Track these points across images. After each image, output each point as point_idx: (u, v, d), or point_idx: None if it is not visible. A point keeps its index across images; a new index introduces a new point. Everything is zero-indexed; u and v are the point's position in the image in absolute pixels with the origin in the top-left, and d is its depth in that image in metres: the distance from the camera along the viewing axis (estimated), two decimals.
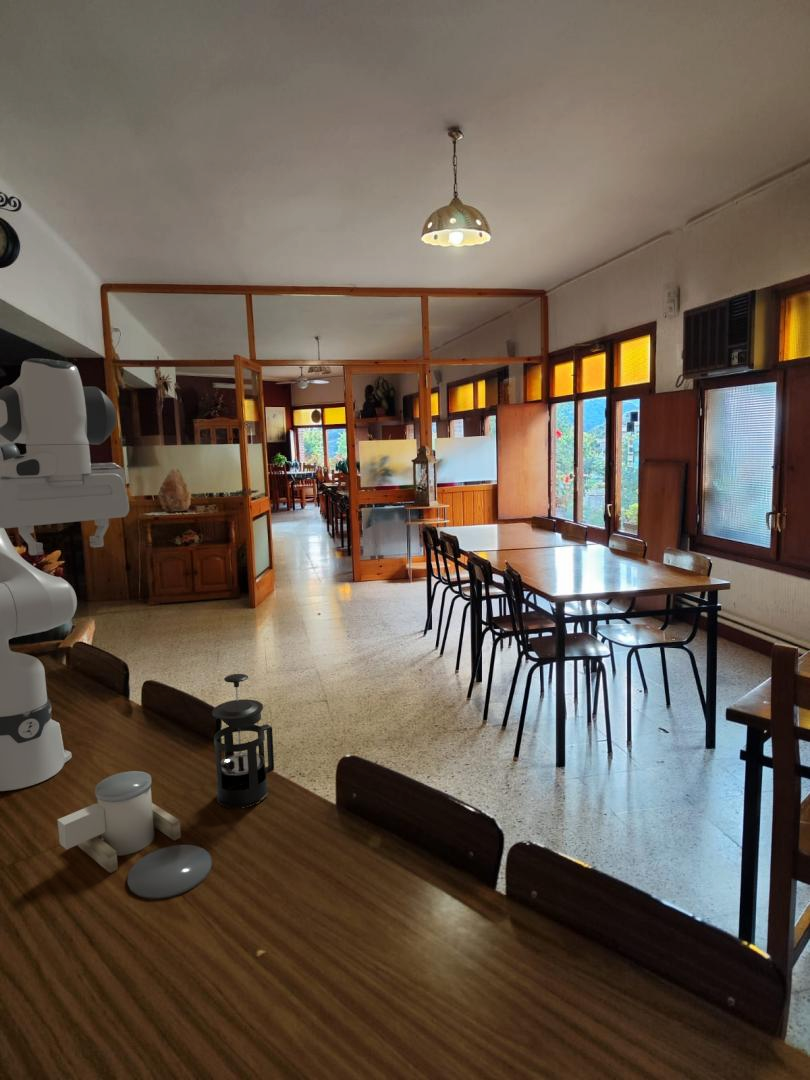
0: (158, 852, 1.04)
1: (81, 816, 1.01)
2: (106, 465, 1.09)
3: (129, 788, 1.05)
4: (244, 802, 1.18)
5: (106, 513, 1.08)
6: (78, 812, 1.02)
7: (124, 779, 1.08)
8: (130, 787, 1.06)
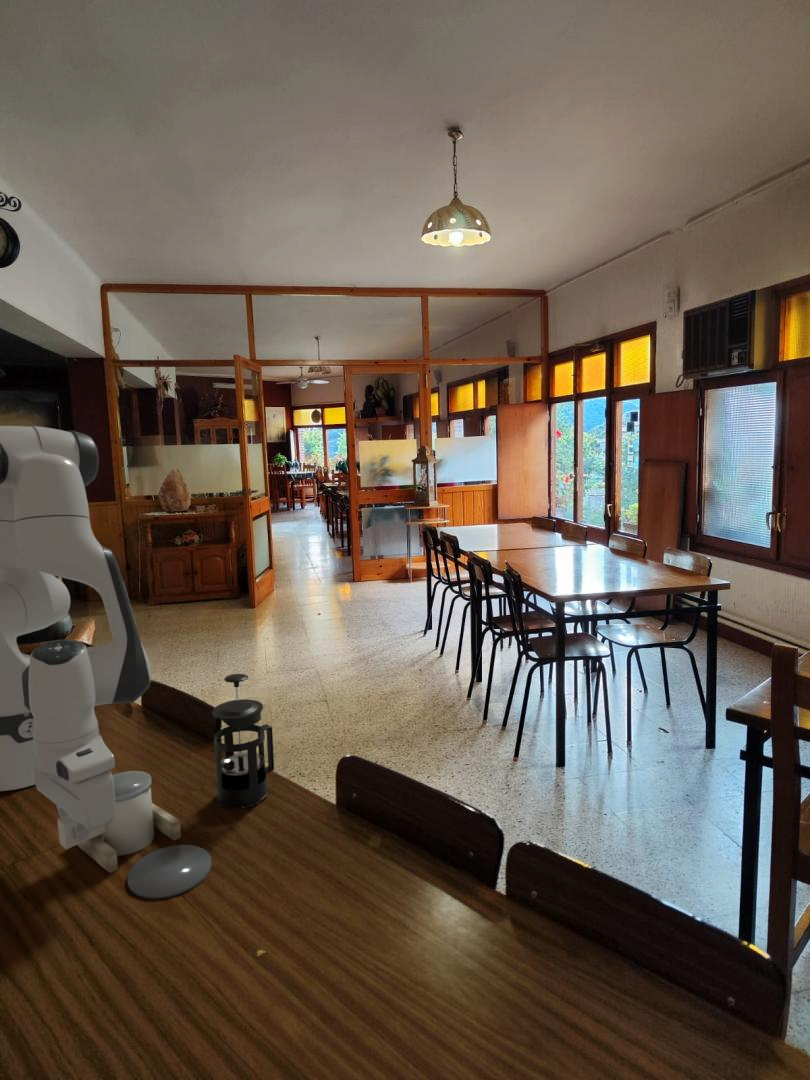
0: (158, 852, 1.04)
1: None
2: None
3: (129, 788, 1.05)
4: (244, 802, 1.18)
5: None
6: None
7: (124, 779, 1.08)
8: (130, 786, 1.06)
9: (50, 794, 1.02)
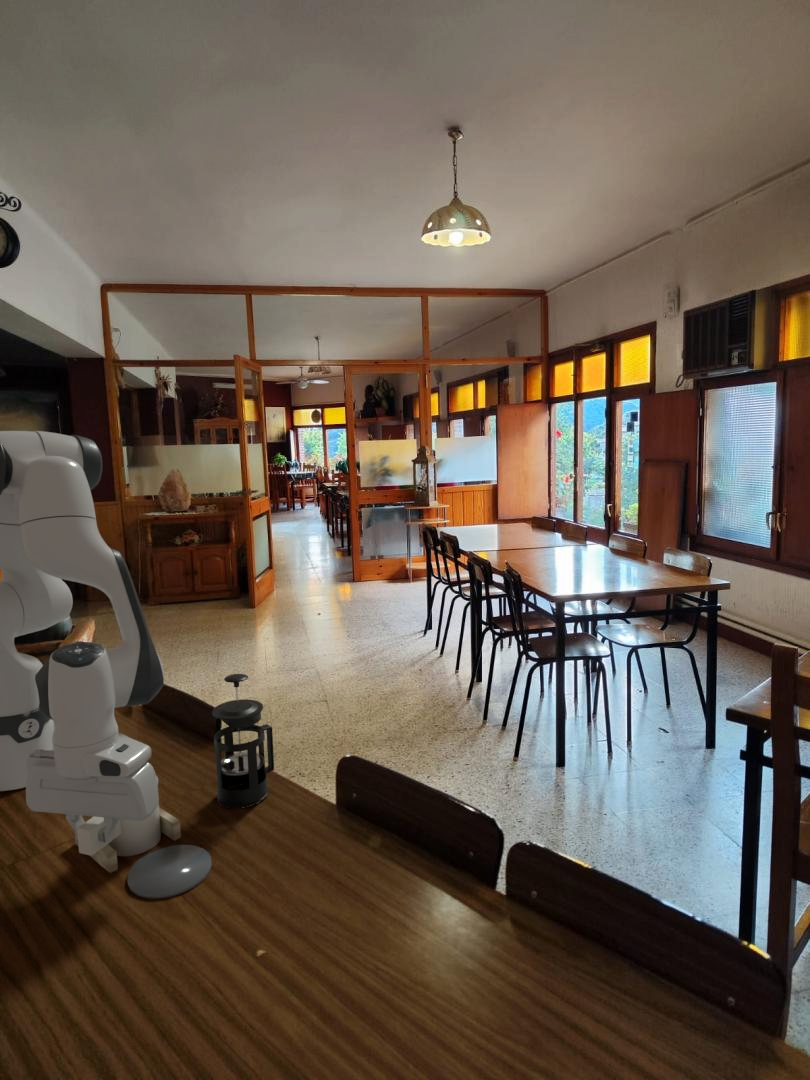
0: (158, 852, 1.04)
1: (101, 820, 1.00)
2: None
3: None
4: (244, 802, 1.18)
5: None
6: (95, 817, 1.01)
7: None
8: None
9: (63, 806, 0.98)
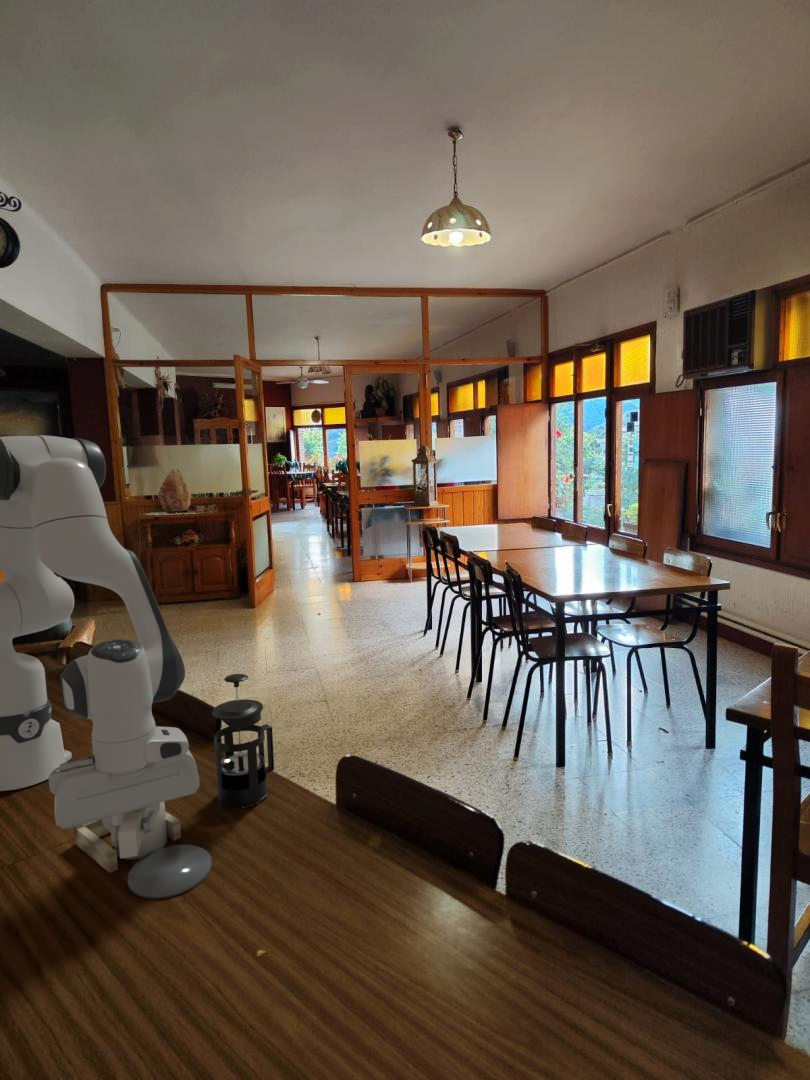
0: (158, 852, 1.04)
1: (136, 821, 0.99)
2: None
3: None
4: (244, 802, 1.18)
5: None
6: (125, 821, 0.99)
7: None
8: None
9: (106, 809, 0.97)
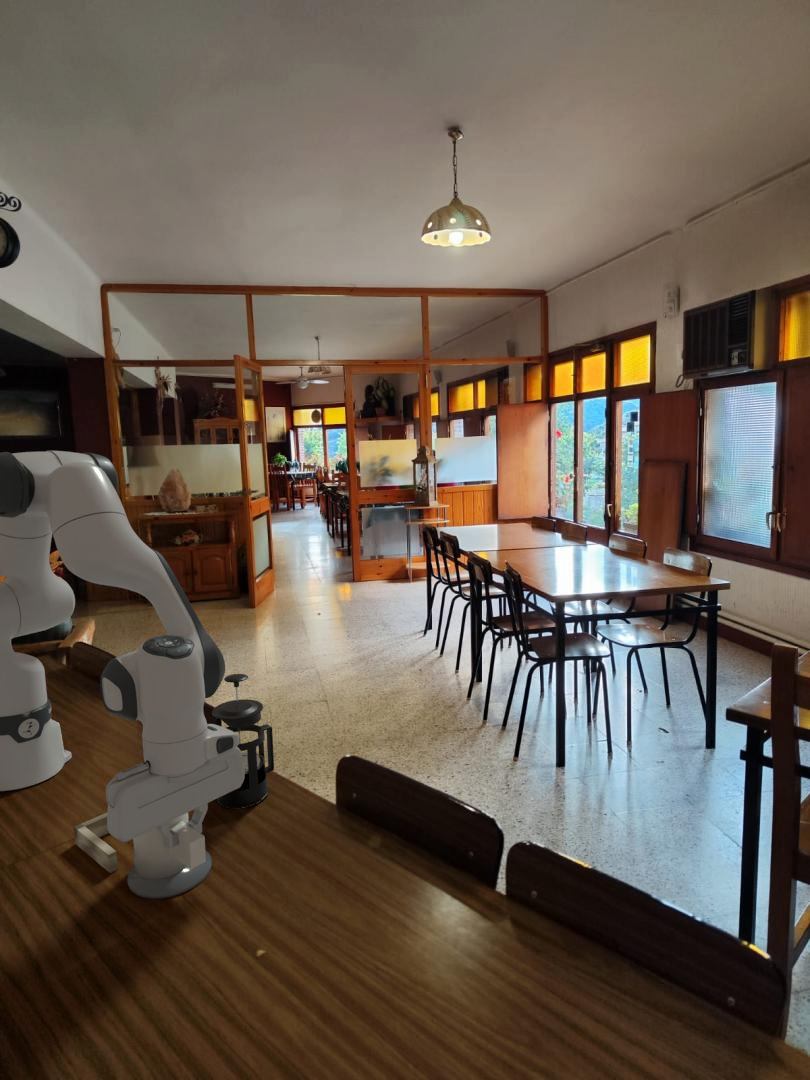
0: None
1: (192, 829, 0.96)
2: None
3: None
4: (244, 802, 1.18)
5: None
6: (181, 833, 0.95)
7: None
8: None
9: (164, 815, 0.92)
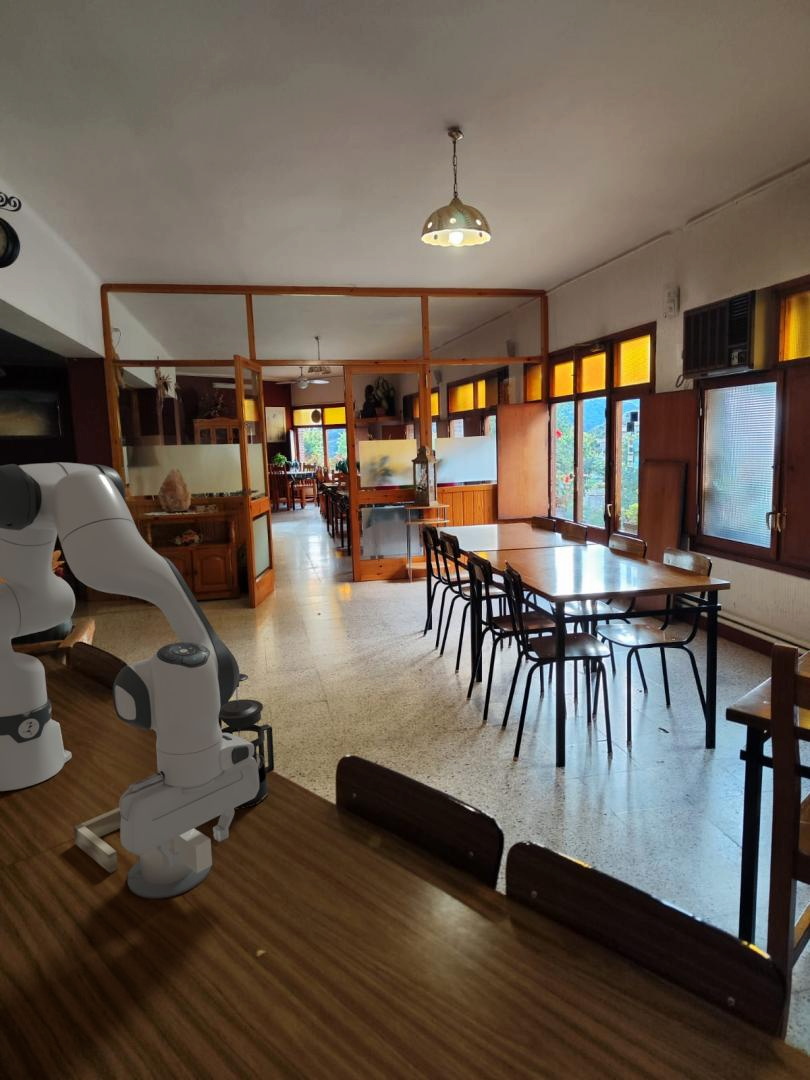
0: None
1: (197, 833, 0.95)
2: None
3: None
4: None
5: None
6: (187, 837, 0.94)
7: None
8: None
9: (178, 827, 0.89)
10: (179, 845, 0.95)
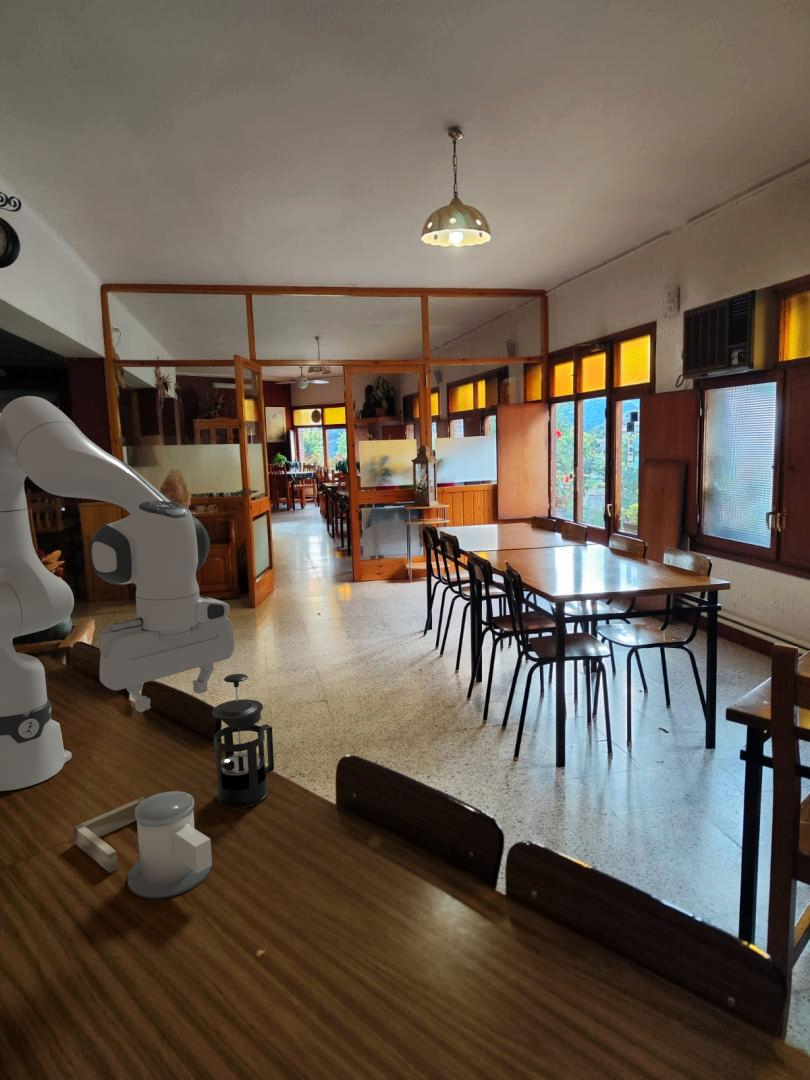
0: None
1: (197, 833, 0.95)
2: None
3: (178, 800, 1.00)
4: (244, 802, 1.18)
5: None
6: (187, 837, 0.94)
7: (154, 807, 0.98)
8: (176, 799, 1.00)
9: (155, 671, 0.95)
10: (179, 845, 0.95)
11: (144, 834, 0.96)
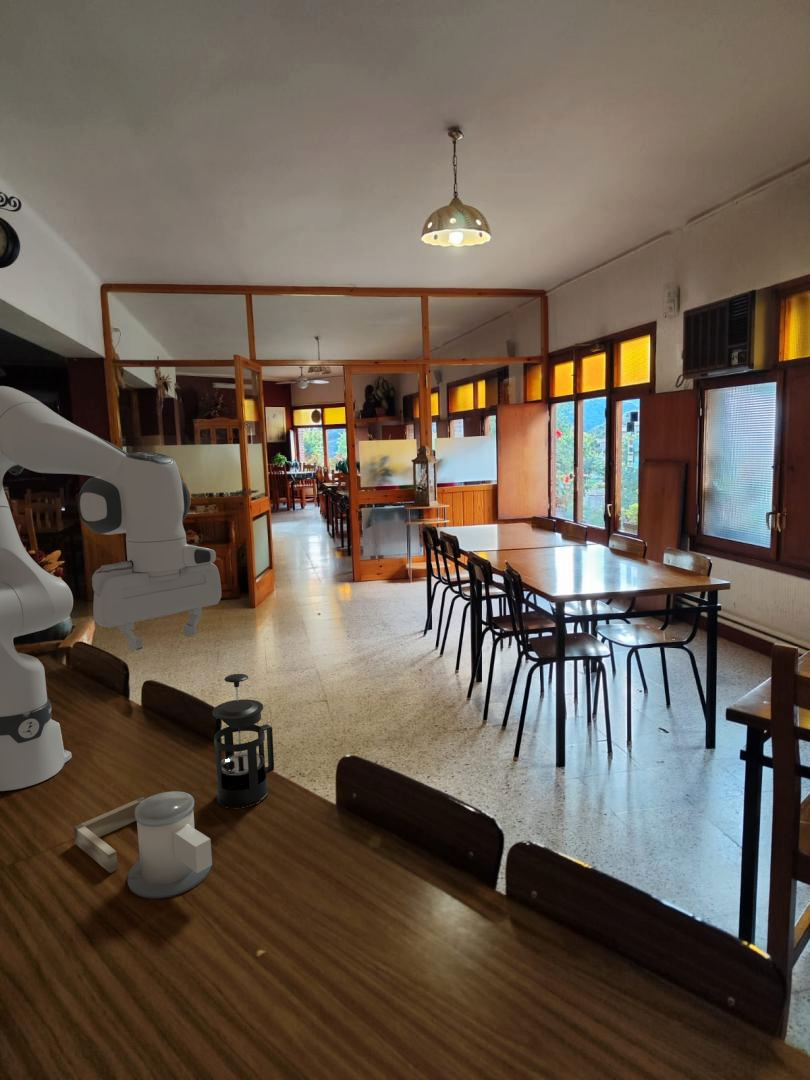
0: None
1: (197, 833, 0.95)
2: None
3: (178, 799, 1.00)
4: (244, 802, 1.18)
5: None
6: (187, 837, 0.94)
7: (154, 807, 0.98)
8: (176, 799, 1.00)
9: (146, 611, 1.01)
10: (179, 845, 0.95)
11: (144, 834, 0.96)
